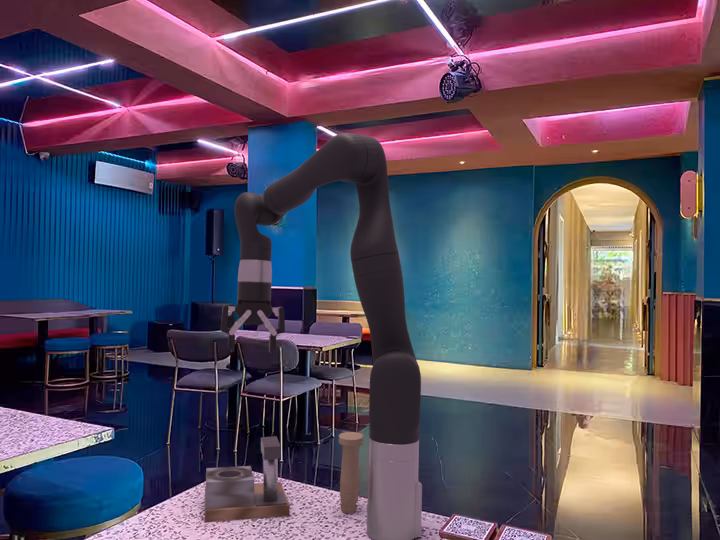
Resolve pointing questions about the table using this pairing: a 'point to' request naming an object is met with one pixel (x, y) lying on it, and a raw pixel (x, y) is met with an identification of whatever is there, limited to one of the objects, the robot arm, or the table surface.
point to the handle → (350, 470)
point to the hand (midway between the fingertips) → (251, 352)
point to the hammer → (270, 467)
